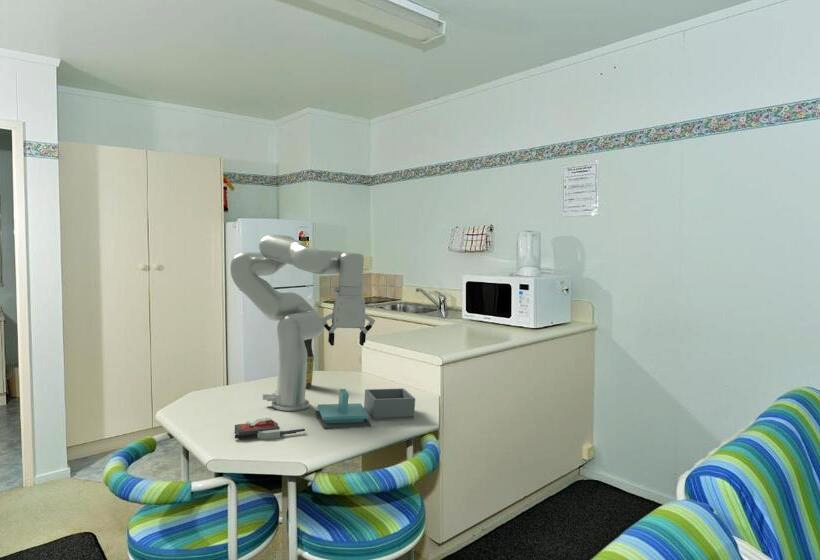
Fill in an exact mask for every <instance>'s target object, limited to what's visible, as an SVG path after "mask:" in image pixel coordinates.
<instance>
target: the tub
mask: <svg viewBox="0 0 820 560" xmlns="http://www.w3.org/2000/svg"><path fill="white" fill-rule="evenodd" d="M363 403H364V404H363V408H364V409H365V410H366V412H367V413H368V415H369V418H370V417H371V418H370V419H371V420H372V421H373V422H378V421H401V420H402V421H403V420H414V418H415V408H416V398H415V396H413V395H412V394H411V393H410V392H409V391H408V390H407V389H406V388H399V387H398V388H373V389H372V388H367V389H364V402H363Z"/></svg>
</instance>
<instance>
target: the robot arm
mask: <svg viewBox="0 0 820 560" xmlns="http://www.w3.org/2000/svg"><path fill="white" fill-rule="evenodd" d="M258 249H259V252H257V251H247V252H241V253H238V254H236V255H235V256H234V257H233V258H232V259H231V261H230V276H231V279H232V280H233V283H234V284H235V286H236V287H237V288H238V289H239V290H240V291H241V293H243V294H244V295H245V296H246V297H247V298H249V300H251V302H252V303H253V304H254V306H256V307H257V308H258V309H259V311H261V313H262V314H263V315H264V316H265V317H266V318H267V319H268V320H270V321H276V322H277V321H278V324H277V327H276V333H277V339H278V340H277V342H278V364H277V365H278V367H277V369H278V370H277V382H276V383H277V386H276V390H275V391H274V392H272V393H270V394H269V393H264V394H263V393H262V401H266V402H271V407H272V408H274V409H276V410H278V411H279V410H280V411H285V412H295V411H297V412H298V411H302V410H305V409H308V408H309V407H310V401H309V400H308V399H306V392H307V391H306V390H307V389H306V388H307V387H306V373H307V349H306V346H305V344H304V340H308V339H312V340H314V339H316V338H318V337H319V336H321V334H322V333H323V332H324V329H326V330H327V332H328V339H327V341H328V343H329V345H330V346H331V347H333V346H334V345H335V330H337V328H338V329H359V330H360V332H359V340H358V341H359V342H358V344H359V345H360V346H362V347H363V346H365V345H364V344H365V343H366V335H367V333H368V332H369V331H370V330H371V329H372V327H373V326H374V324H375V321H376V320H375V319H374V318H372V317H371V316H369V315H367V314H366V301H365V296H363V283H364V281H363V280H364V267H365V257H364V255H363V254H361V253H359V252H358V253H357V252H346V251H341V250H331V249H329V250H328V249H323V250H322V249H316V248H311V247H308V246H307V244H306V243H305V242H303V241H302V240H298V239H295V238H294V237H292V236H290V235H286V234H285V235H284V234H283V235H281V234H268V235H266V236H264V237H262V238H261V239H260V241H259V243H258ZM286 265H291V266H294V268H297V269H298V270H301V271H305V272H309V273H311V274H312V273H313V274H316V275H317V274H318V275H334V274H335V275H336V274H338V285H337V287H333V292H334V293H337V295H335V296H334V297H335V298H334V301H333V308H332V312H331V313H329V314H327V315H325V316H323V317H322V315H320V314H319V312H318V311H317V310H316V309H315V308H314V307H312V305H310V303H309V302H308V301H307V300H306V299H305V298H304V297H303V296H302V295H300V294H298V293H295V292H280V291H278V290H276V288H274V287H273V286H272V284H270V282H268V281H267V280H266V279H263V278H262V277H263V276H271V275H273V274H276V273H277V272H279V270H280V269H282V268H283V267H285V266H286ZM329 320H331V325H330V326H329V324H328V322H327V321H329ZM366 320H367V322H368V324H367V325H366Z"/></svg>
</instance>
